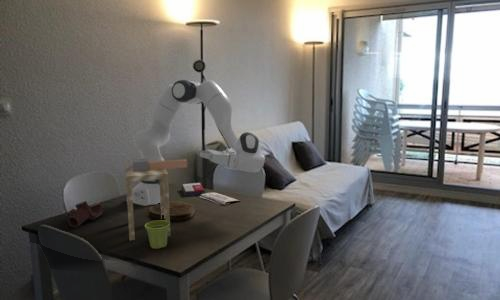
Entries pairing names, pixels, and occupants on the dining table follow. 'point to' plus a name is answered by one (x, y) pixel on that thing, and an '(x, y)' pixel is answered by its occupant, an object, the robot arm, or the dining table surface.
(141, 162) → the mallet
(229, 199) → the newspaper
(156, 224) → the plant pot
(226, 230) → the dining table surface
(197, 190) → the calculator
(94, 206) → the bracket
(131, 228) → the frame
